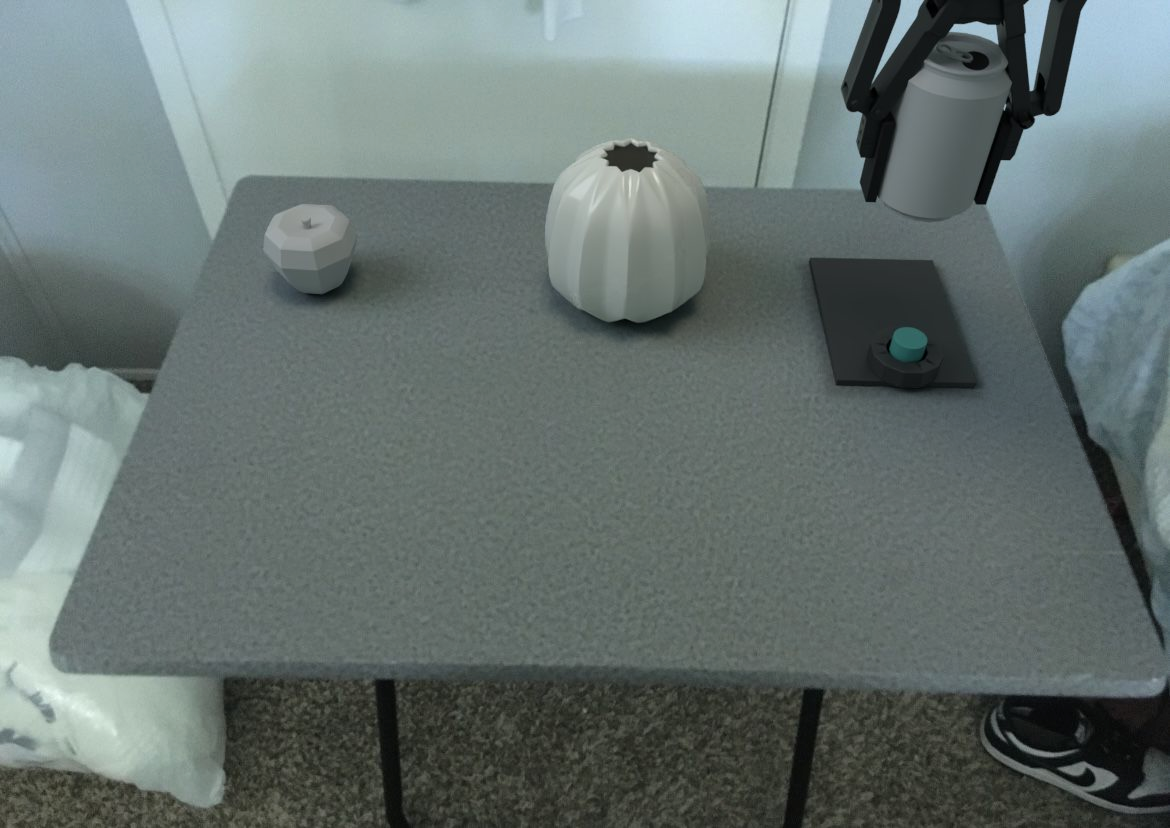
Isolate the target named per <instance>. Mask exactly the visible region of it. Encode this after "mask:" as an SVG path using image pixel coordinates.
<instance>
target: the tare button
mask: <svg viewBox="0 0 1170 828" xmlns="http://www.w3.org/2000/svg"><path fill="white" fill-rule="evenodd" d="M926 345H927V337H926V335H925V334H924V333H923V332H921V331H920V330H918V329H915V328H911V327H903V328H899V329H897V330H896V331H895V332H894V335H893V338H892V341H891V345H890V348H889V351H890V354H891V355H892V356H893V357H894V358H895V359H897V360H900V361H902V362H905V363H916V362H918V361H920V360H921V359H922V357H923V354H924V351H925V348H926Z"/></svg>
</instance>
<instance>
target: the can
mask: <svg viewBox="0 0 1170 828" xmlns="http://www.w3.org/2000/svg"><path fill="white" fill-rule="evenodd" d="M1007 65H1008V61H1007V59H1006V57H1005V55H1004V54H1003V52H1002V50H1001V48H1000V47H999V45H998V43H996V42H995V41H993V40H991V39H989V38H986V37H983V36H980V35H977V34H972V33H968V32H959V31H949V33H948V34H947V35H946V37H944V38H943V39H940V40H939V41H938V43H937V44H936V45H935V47H934V48H933V50H932V51H931V53H930V54H929V55H928V57H927V58H926V60H924V63H923V64H922V66H921V67H920V68H919V70H918V71H917V73H916V74H915V76H914V77H913V78H911V79H910V80H909V81H908V85H907V87H906V89H905V90H904V91H903V93H902V94H901V96H900V97H899V99H898V100H897V101H896V103H895V104H894V106H893V107H892V109H891V114H892V116H893V118H894V121H895V128H894V132H893V136H892V140H891V144H890V148H889V152H888V156H887V160H886V164H885V168H884V172H883V176H882V180H881V184H880V188H879V192H878V196H877V199H879V200H880V201H881V202H882V203H883V205H884V206H885V207H886V208H887V209H888V210H890V211H891V212H892V213H894V214H896V215H898V216H900V217H901V218H904V219H907V220H912V221H915V222H922V223H923V222H924V223H935V222H943V221H946V220H949V219H952V218H953V217H955V216H958V215H962V214H963V213H964V212H966V211H967V210H969V209H970V208H971V207H972V205H973V202H974V198H975V195H976V192H977V189H978V185H979V182H980V179H981V176H982V173H983V170H984V167H985V164H986V161H987V158H988V155H989V152H990V149H991V146H992V143H993V140H994V137H995V134H996V131H997V127H998V124H999V121H1000V118H1001V115H1002V112H1003V109H1004V110H1005V107H1006V104H1005V103H1006V100H1007V97H1008V94H1009V91H1010V88H1011V84H1012V82H1011V80H1010V78H1009V75H1008V72H1007V69H1006V67H1007Z"/></svg>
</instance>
